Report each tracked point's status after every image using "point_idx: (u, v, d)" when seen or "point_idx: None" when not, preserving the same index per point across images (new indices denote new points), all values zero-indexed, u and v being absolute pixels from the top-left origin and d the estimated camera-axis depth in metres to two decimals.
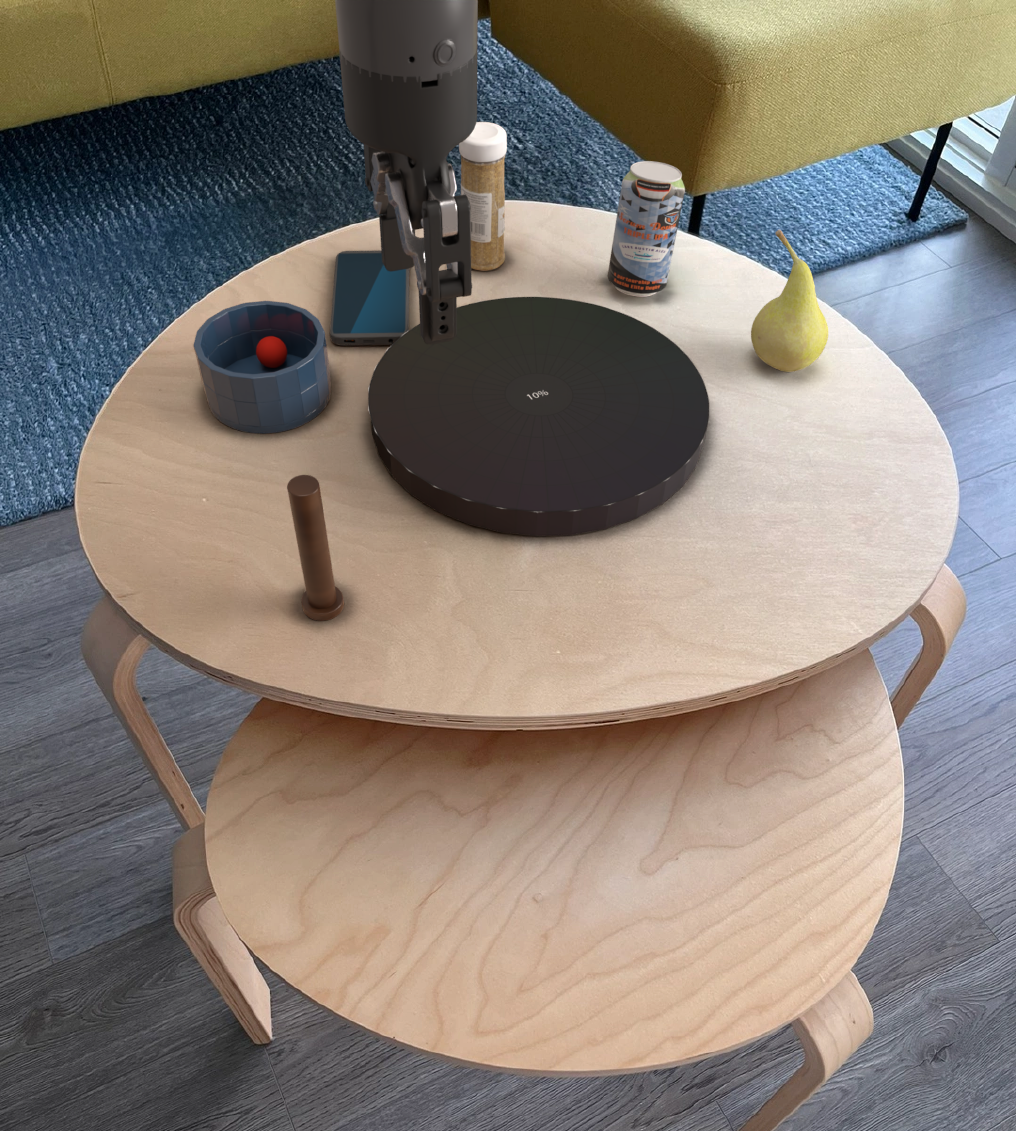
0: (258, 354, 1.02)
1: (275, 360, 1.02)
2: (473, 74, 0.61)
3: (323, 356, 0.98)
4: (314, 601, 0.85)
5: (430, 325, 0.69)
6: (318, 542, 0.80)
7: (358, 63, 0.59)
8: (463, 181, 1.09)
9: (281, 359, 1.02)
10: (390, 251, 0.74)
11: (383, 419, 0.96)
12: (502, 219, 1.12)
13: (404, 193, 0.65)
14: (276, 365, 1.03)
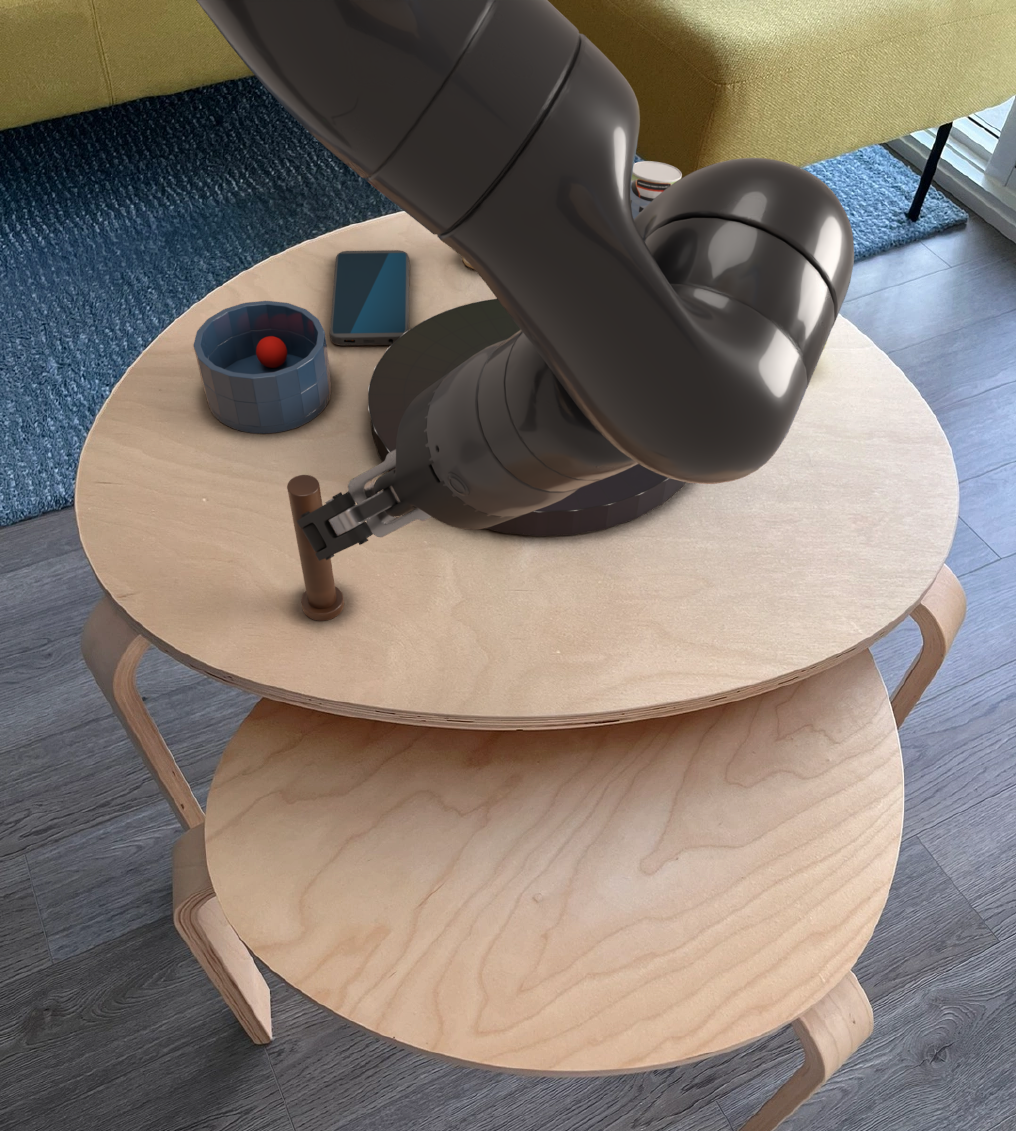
0: (258, 354, 1.02)
1: (275, 360, 1.02)
2: (483, 518, 0.53)
3: (323, 356, 0.98)
4: (314, 601, 0.85)
5: None
6: None
7: (438, 387, 0.51)
8: None
9: (281, 359, 1.02)
10: None
11: (383, 419, 0.96)
12: None
13: None
14: (276, 365, 1.03)
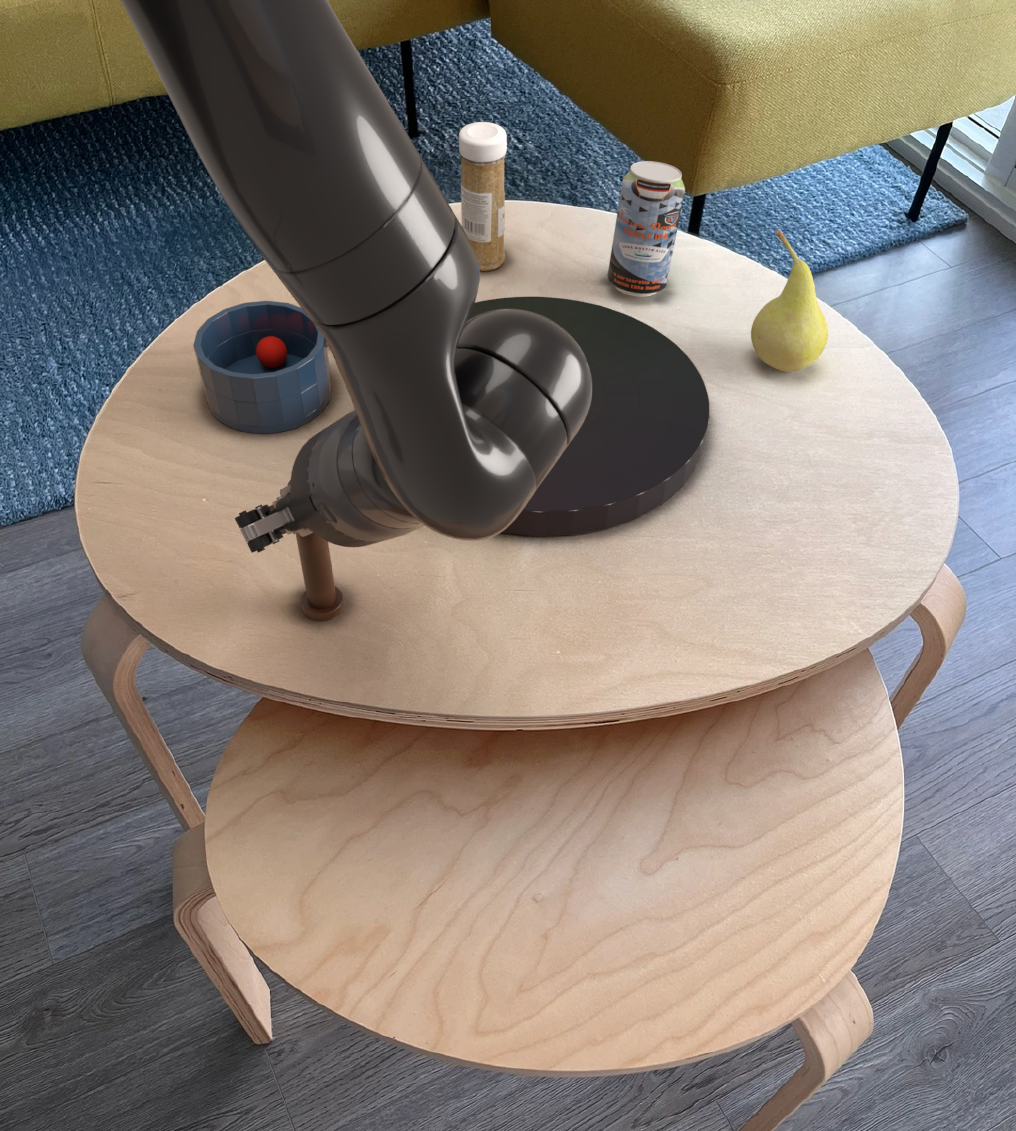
0: (258, 354, 1.02)
1: (275, 360, 1.02)
2: (353, 541, 0.67)
3: (323, 356, 0.98)
4: (314, 601, 0.85)
5: None
6: (318, 542, 0.80)
7: (320, 436, 0.64)
8: (463, 181, 1.09)
9: (281, 359, 1.02)
10: None
11: None
12: (502, 219, 1.12)
13: None
14: (276, 365, 1.03)
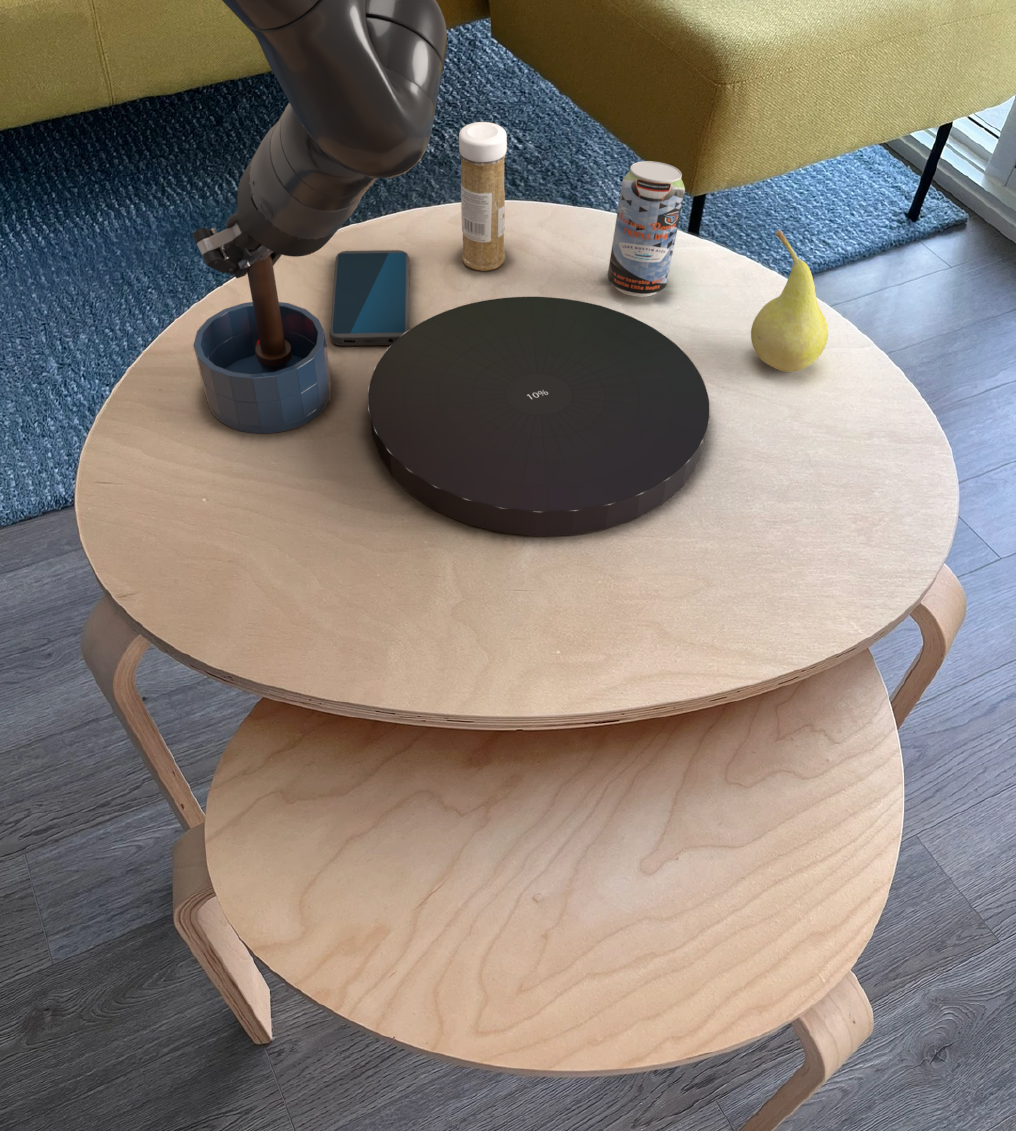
0: None
1: None
2: (288, 240, 0.81)
3: (323, 356, 0.98)
4: (266, 347, 0.99)
5: None
6: (267, 284, 0.94)
7: None
8: (463, 181, 1.09)
9: None
10: None
11: (383, 419, 0.96)
12: (502, 219, 1.12)
13: None
14: None
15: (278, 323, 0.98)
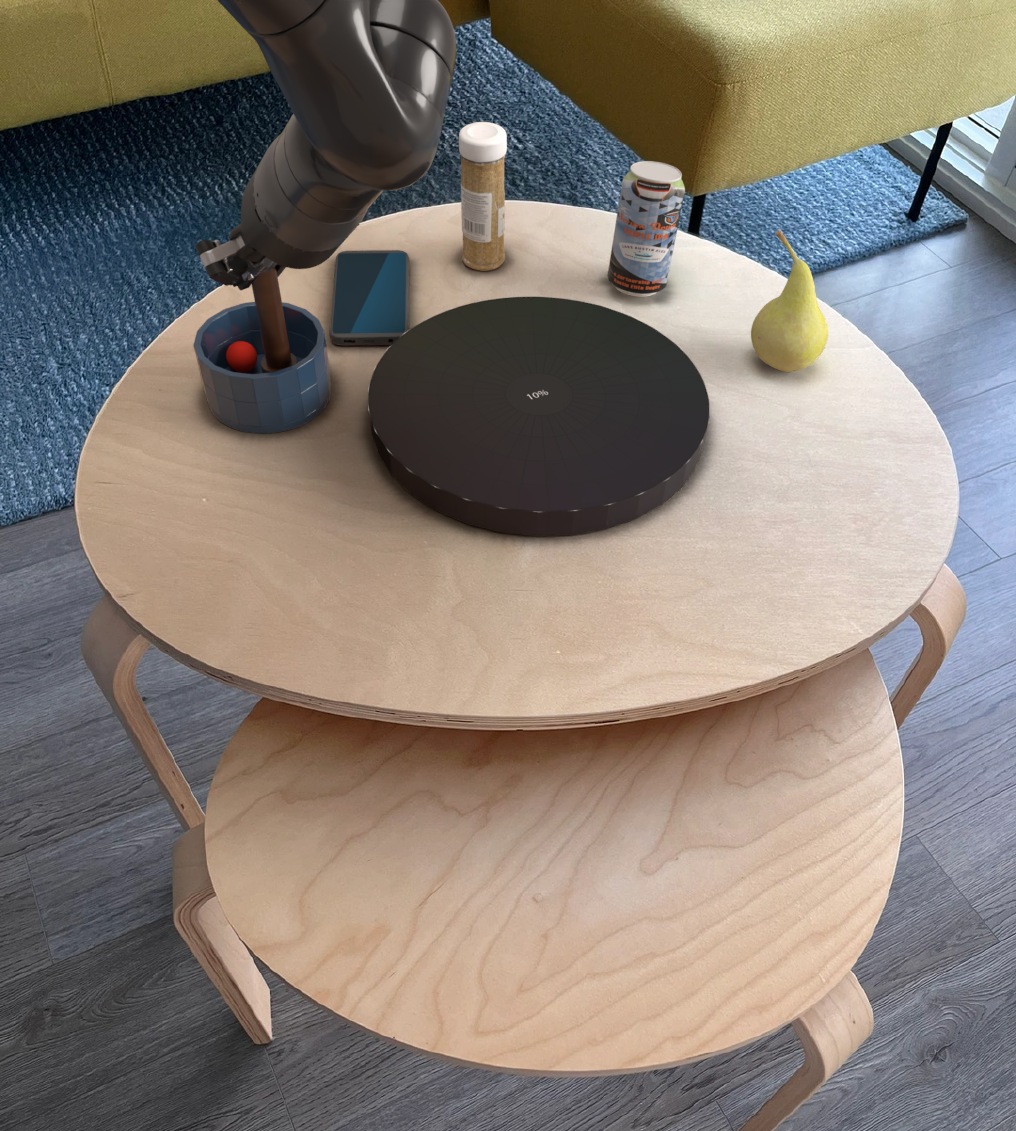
0: None
1: (242, 369, 1.02)
2: (292, 252, 0.79)
3: (323, 356, 0.98)
4: (271, 360, 0.97)
5: None
6: (272, 296, 0.93)
7: None
8: (463, 181, 1.09)
9: (240, 364, 1.01)
10: None
11: (383, 419, 0.96)
12: (502, 219, 1.12)
13: None
14: (248, 365, 1.02)
15: (284, 336, 0.96)
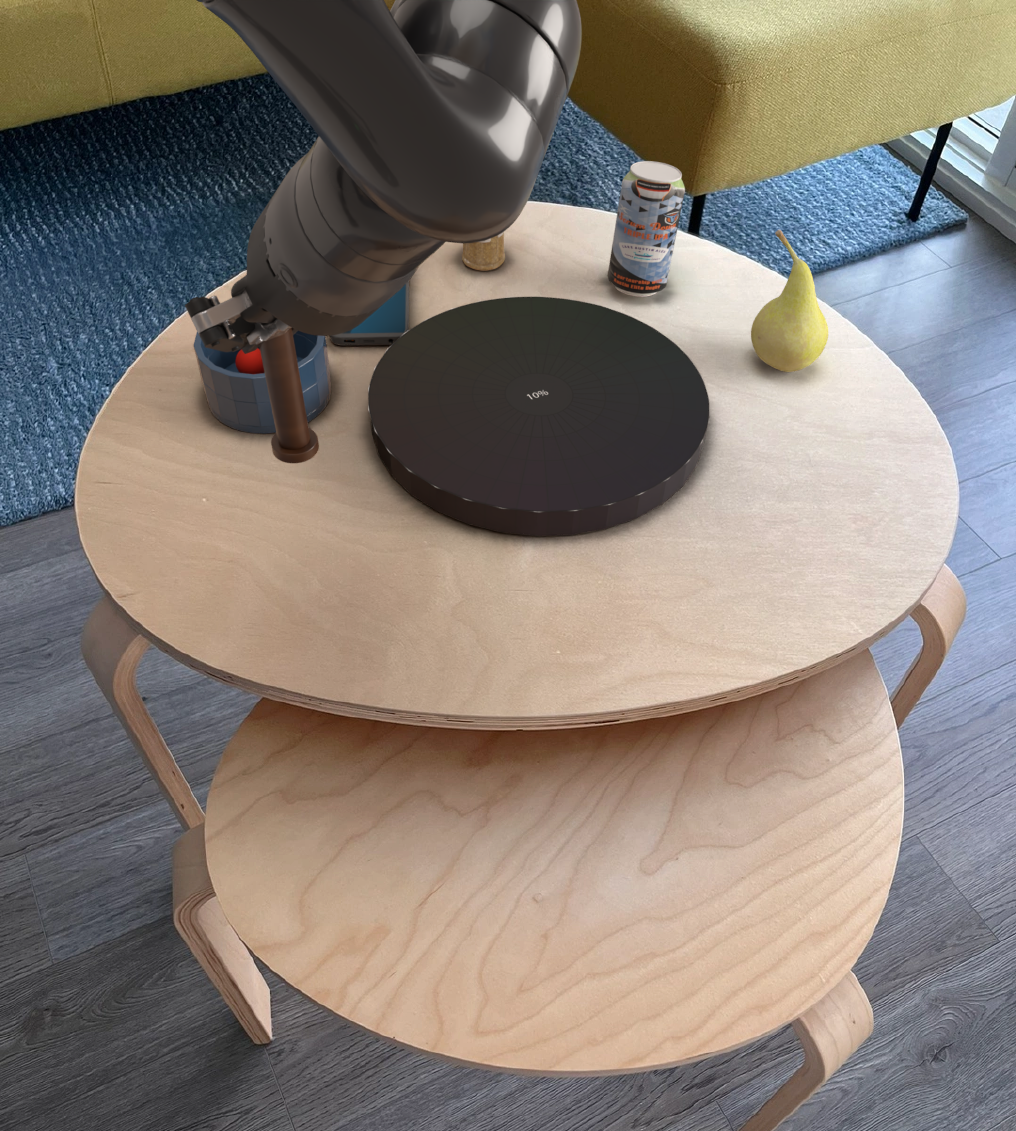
0: None
1: None
2: (318, 317, 0.58)
3: (323, 356, 0.98)
4: (285, 440, 0.76)
5: None
6: (286, 361, 0.71)
7: None
8: None
9: None
10: None
11: (383, 419, 0.96)
12: None
13: None
14: None
15: (301, 409, 0.75)
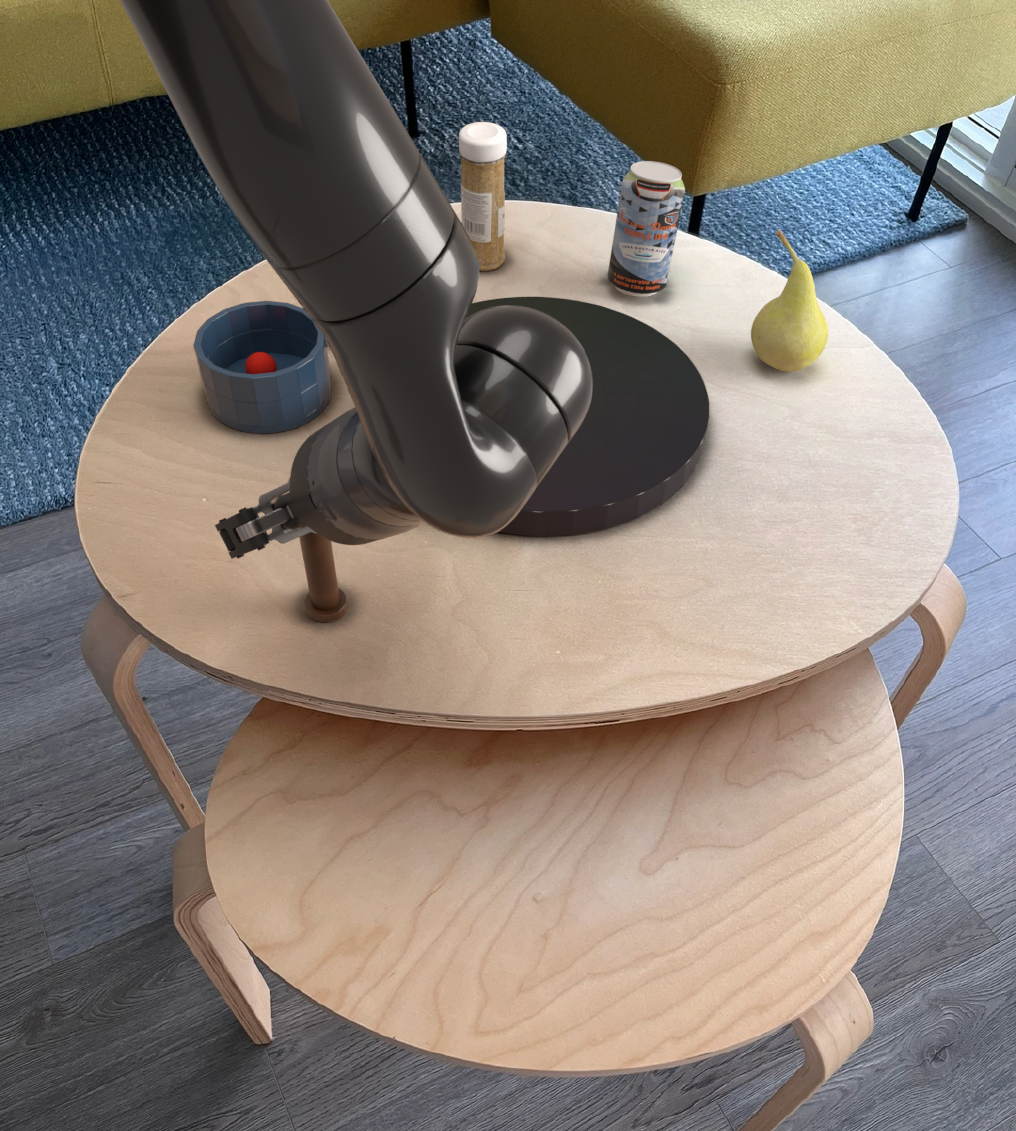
0: None
1: None
2: (352, 538, 0.66)
3: (323, 356, 0.98)
4: (317, 603, 0.85)
5: None
6: (322, 544, 0.80)
7: (319, 433, 0.64)
8: (463, 181, 1.09)
9: None
10: None
11: None
12: (502, 219, 1.12)
13: None
14: None
15: (333, 579, 0.83)
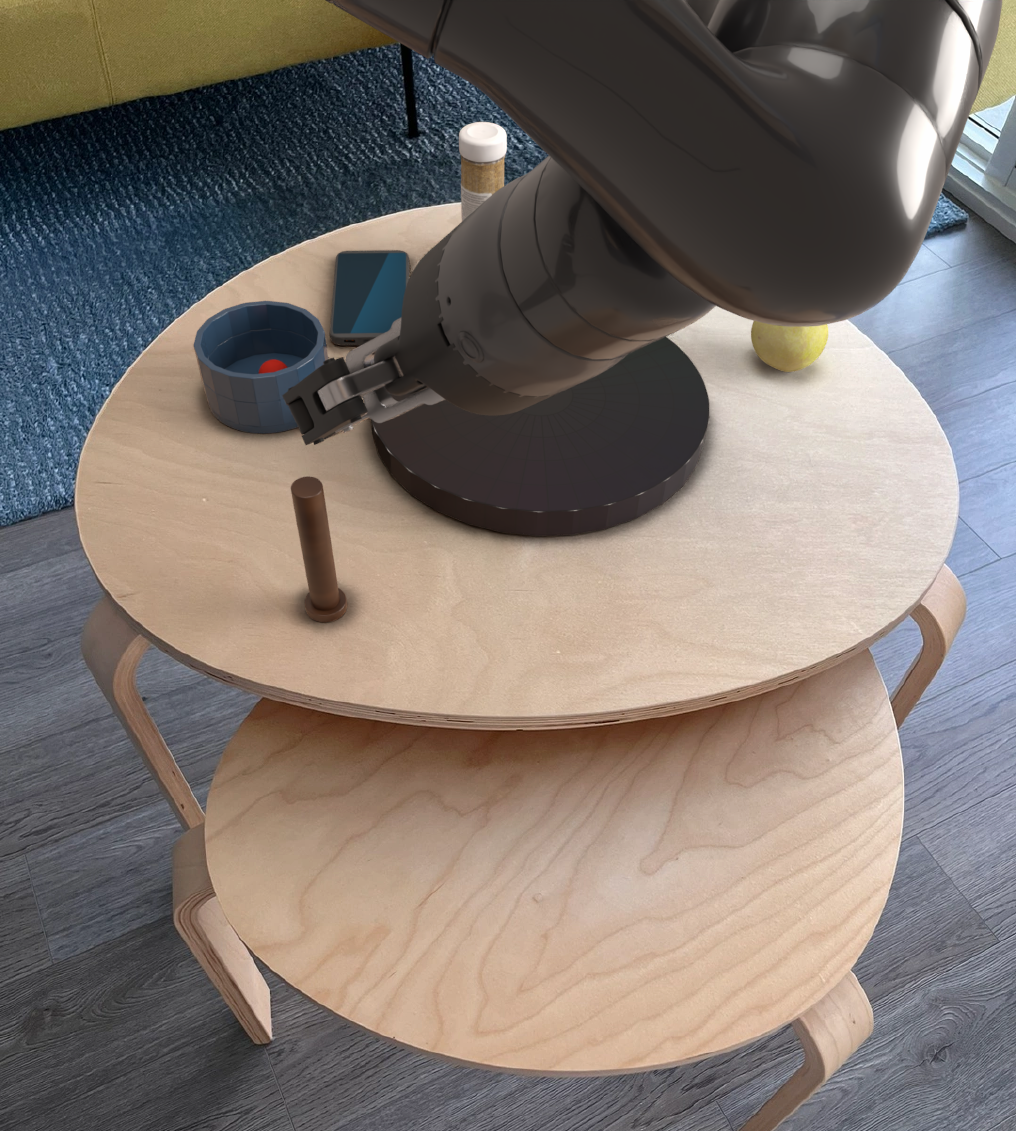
0: (269, 362, 1.00)
1: None
2: (499, 396, 0.44)
3: (323, 356, 0.98)
4: (317, 603, 0.85)
5: None
6: (322, 544, 0.80)
7: (456, 229, 0.42)
8: (463, 181, 1.09)
9: None
10: None
11: None
12: None
13: None
14: None
15: (333, 579, 0.83)
